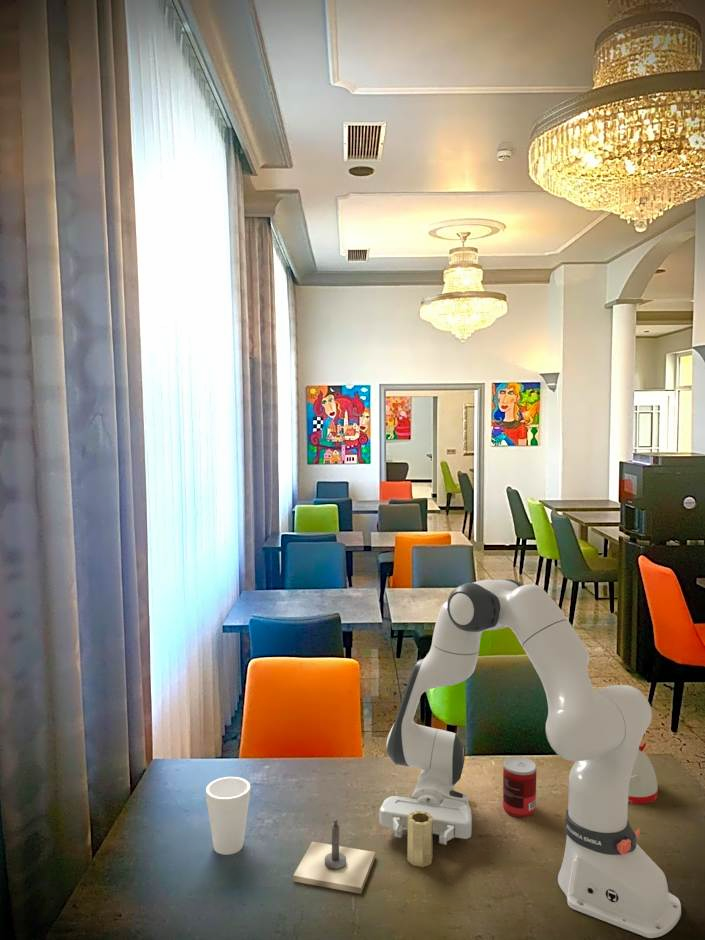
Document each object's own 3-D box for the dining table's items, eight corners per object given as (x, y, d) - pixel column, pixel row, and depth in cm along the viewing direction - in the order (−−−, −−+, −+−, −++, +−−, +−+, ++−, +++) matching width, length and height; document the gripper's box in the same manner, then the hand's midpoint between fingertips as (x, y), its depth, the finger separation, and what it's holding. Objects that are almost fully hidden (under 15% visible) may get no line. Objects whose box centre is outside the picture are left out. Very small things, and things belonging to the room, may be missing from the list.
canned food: (532, 801, 171) (533, 757, 171) (538, 819, 163) (539, 773, 163) (500, 799, 172) (501, 755, 171) (504, 817, 164) (505, 771, 163)
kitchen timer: (602, 771, 187) (603, 715, 186) (658, 782, 181) (660, 725, 180) (595, 795, 174) (597, 736, 173) (655, 809, 168) (658, 747, 167)
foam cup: (197, 850, 150) (196, 791, 150) (224, 829, 159) (224, 773, 158) (233, 864, 146) (232, 803, 145) (259, 841, 154) (258, 783, 153)
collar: (433, 854, 150) (434, 813, 149) (429, 868, 145) (430, 826, 144) (410, 850, 151) (410, 809, 150) (405, 864, 146) (406, 822, 146)
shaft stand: (375, 857, 148) (375, 809, 148) (361, 893, 137) (361, 842, 136) (312, 846, 152) (312, 800, 151) (293, 881, 140) (293, 830, 140)
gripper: (385, 783, 163) (371, 815, 150) (475, 796, 158) (468, 830, 144) (385, 810, 163) (371, 844, 150) (474, 823, 158) (468, 859, 145)
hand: (420, 837), depth 147 cm, fingers open, 8 cm apart
